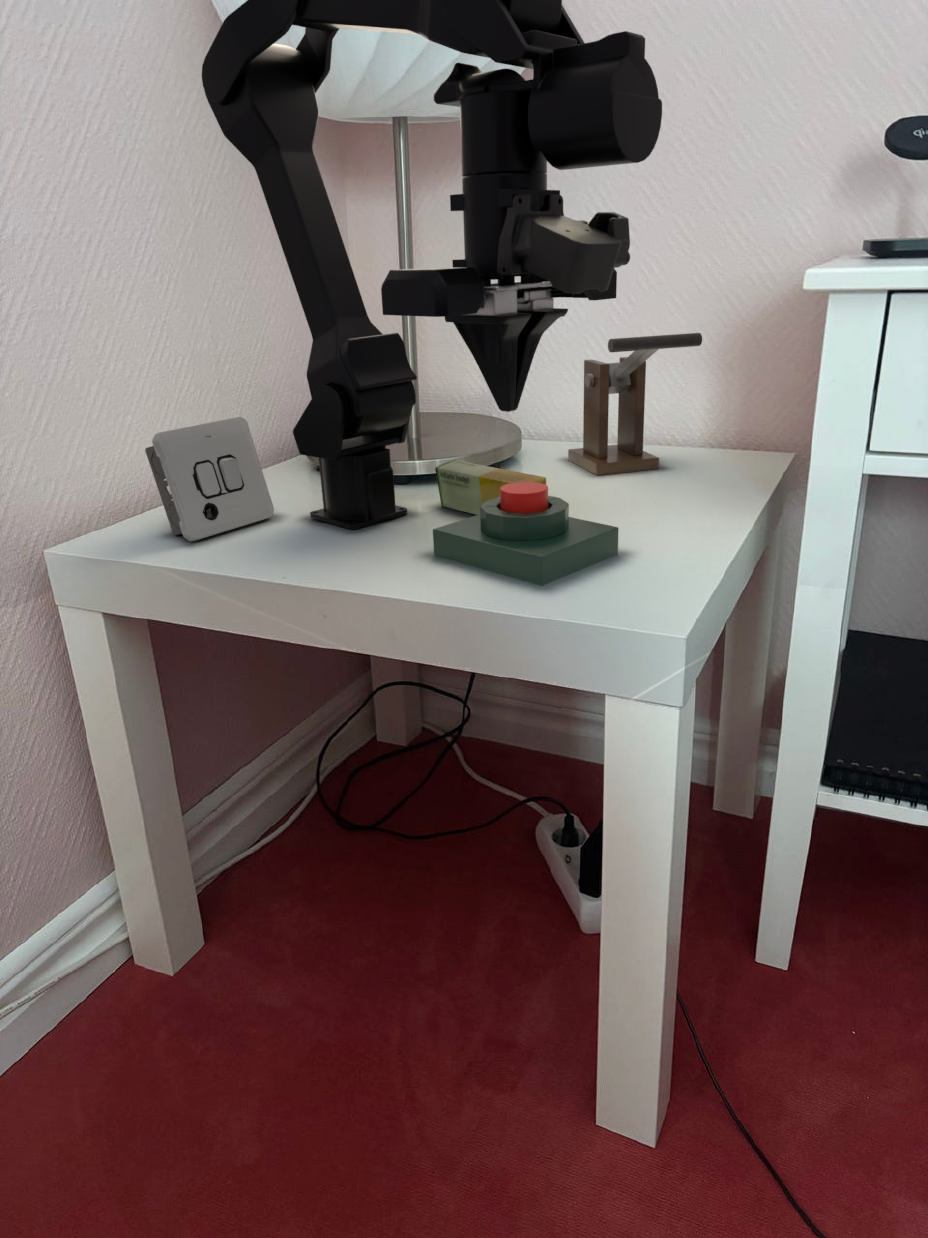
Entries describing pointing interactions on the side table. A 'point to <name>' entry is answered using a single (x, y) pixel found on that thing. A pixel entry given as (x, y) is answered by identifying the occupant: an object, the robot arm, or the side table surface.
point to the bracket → (630, 424)
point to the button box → (526, 542)
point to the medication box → (474, 484)
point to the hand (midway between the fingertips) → (508, 410)
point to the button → (524, 497)
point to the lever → (642, 354)
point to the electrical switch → (209, 478)
